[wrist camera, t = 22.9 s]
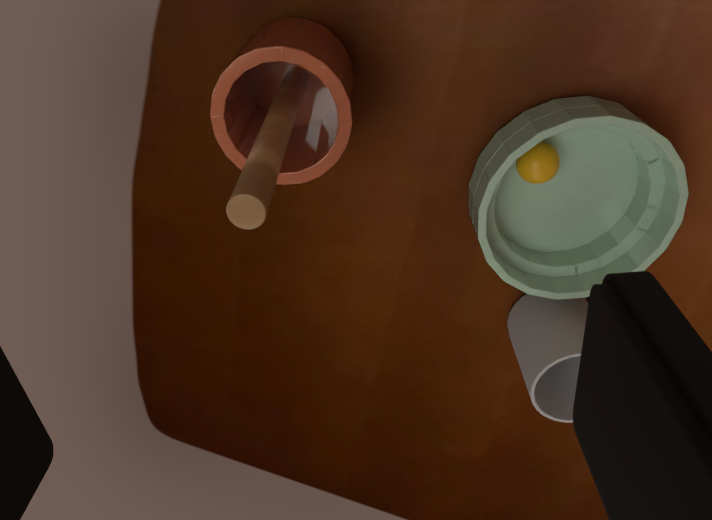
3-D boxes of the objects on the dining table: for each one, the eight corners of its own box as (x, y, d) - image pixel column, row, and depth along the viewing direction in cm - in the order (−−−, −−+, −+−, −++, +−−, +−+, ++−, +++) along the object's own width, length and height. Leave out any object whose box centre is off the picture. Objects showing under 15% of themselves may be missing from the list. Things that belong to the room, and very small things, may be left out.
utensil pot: (228, 23, 39) (195, 54, 31) (347, 11, 38) (343, 39, 31) (251, 138, 43) (227, 190, 35) (358, 128, 42) (358, 179, 35)
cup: (592, 278, 49) (634, 347, 42) (583, 366, 54) (618, 442, 47) (506, 287, 50) (531, 357, 42) (505, 373, 55) (528, 449, 47)
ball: (557, 156, 39) (564, 188, 41) (555, 128, 41) (561, 160, 43) (512, 165, 40) (520, 195, 42) (511, 137, 42) (520, 168, 44)
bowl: (467, 103, 41) (479, 127, 37) (672, 85, 41) (708, 106, 36) (466, 270, 49) (476, 305, 45) (639, 257, 48) (666, 292, 44)
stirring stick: (281, 69, 40) (221, 196, 23) (304, 66, 40) (260, 191, 23) (286, 92, 41) (231, 232, 24) (308, 89, 41) (270, 227, 24)
